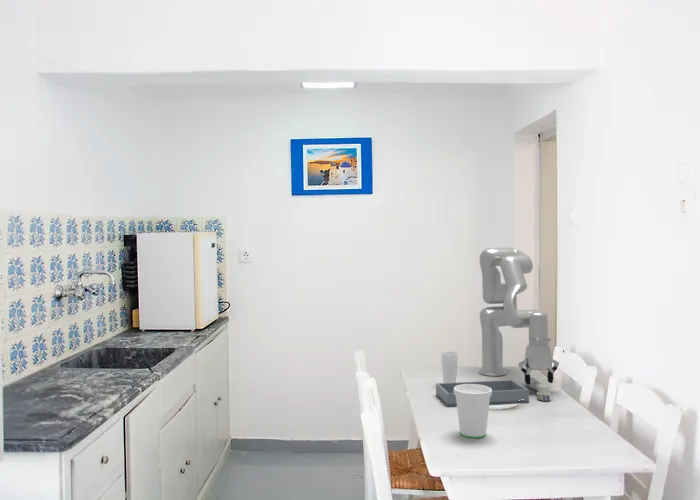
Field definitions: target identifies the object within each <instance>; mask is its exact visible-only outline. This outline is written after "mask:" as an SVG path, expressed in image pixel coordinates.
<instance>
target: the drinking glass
mask: <svg viewBox="0 0 700 500" xmlns="http://www.w3.org/2000/svg"><path fill="white" fill-rule="evenodd" d="M441 367H442V377H443V378H442V379H443V380H442V381H443V383H456V382H457V372H458V352H457V351H452V350H446V351H442V352H441Z"/></svg>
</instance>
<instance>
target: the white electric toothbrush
mask: <svg viewBox="0 0 700 500" xmlns="http://www.w3.org/2000/svg"><path fill="white" fill-rule="evenodd" d="M524 382H525V381H524ZM525 385H526V386H527V387H528V388H529V389H533V390H535V391H537V392H536V395H537V400H538V401H540V400H541V401H542V402H544V401H546V402H547V401H551V396H552V393H551V392H550V390H549V386H548V384H542V382H539V381H538V380H537V379H536V378H534V377H530V384H527V383H526V382H525Z"/></svg>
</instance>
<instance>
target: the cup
mask: <svg viewBox="0 0 700 500" xmlns="http://www.w3.org/2000/svg"><path fill="white" fill-rule="evenodd" d="M454 394H455V396H456V402H457V406H456V409H457V417H458V426H459V427H458V428H459V434H460V435H461V436H462V437H464V438H467V439H482V438H484V437H486V436H487V429H488V428H487V427H488V418H489V409H490V405H489V401H490V397H491V395H492V389H491V388H490V387H487V386H484V385H479V384H462V385H458V386H455V387H454Z"/></svg>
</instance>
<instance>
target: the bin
mask: <svg viewBox="0 0 700 500" xmlns="http://www.w3.org/2000/svg"><path fill="white" fill-rule="evenodd" d="M462 384H479V385H484V386H487V387H490V388H491V389H492V395H491V397H490V401H489V406H490V405H491V406H492V405H507V404H511V405H512V404H526V403H527V404H529V402H530V390H529V389H528V388H527V387H525V386H523V385H522V384H520V383H518V382H516V381H515V380H513V379H502V380H483V381H481V380H480V381H479V380H478V381H477V380H476V381H460V382H457V381H456V383H444V382H441V383H439V382H437V383H435V396H436V397H437V398H438V399H439V400H440V401H441V402H442V403H443V404H444V405H445V406H446V407H451V408H452V407H457V402H456V396H455V394H454V387H455V386H458V385H462ZM521 399H524V400H521ZM519 400H520V401H519Z"/></svg>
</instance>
